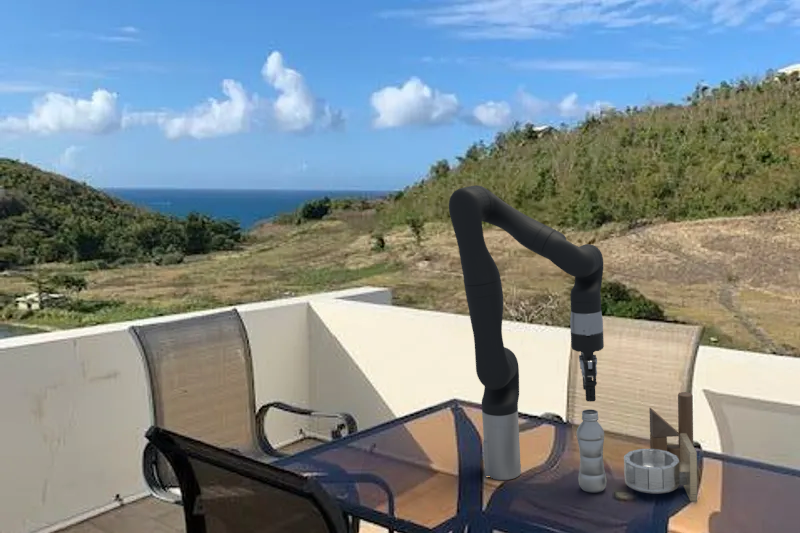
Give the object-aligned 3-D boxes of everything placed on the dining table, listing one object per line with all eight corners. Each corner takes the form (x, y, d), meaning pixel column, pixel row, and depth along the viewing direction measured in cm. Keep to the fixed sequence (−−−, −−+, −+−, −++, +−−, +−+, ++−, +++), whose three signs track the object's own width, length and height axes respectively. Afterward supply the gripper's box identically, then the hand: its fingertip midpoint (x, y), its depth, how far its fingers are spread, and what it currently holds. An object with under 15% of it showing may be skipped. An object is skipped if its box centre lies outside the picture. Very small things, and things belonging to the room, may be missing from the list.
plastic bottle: (607, 496, 190) (605, 416, 187) (578, 495, 192) (575, 416, 189) (606, 484, 197) (603, 407, 194) (578, 484, 198) (575, 407, 195)
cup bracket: (628, 501, 187) (627, 453, 185) (622, 479, 199) (621, 433, 197) (697, 501, 184) (696, 452, 183) (686, 479, 197) (686, 433, 195)
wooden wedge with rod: (650, 458, 210) (648, 393, 208) (691, 456, 210) (690, 391, 207) (653, 463, 207) (652, 397, 204) (695, 462, 206) (695, 395, 203)
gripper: (568, 323, 196) (571, 386, 198) (572, 337, 182) (575, 405, 184) (600, 321, 194) (602, 385, 197) (606, 336, 181) (608, 404, 183)
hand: (589, 395), depth 191 cm, fingers open, 8 cm apart
